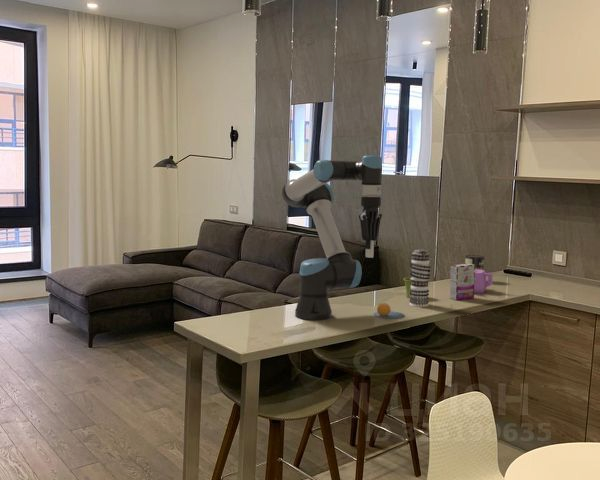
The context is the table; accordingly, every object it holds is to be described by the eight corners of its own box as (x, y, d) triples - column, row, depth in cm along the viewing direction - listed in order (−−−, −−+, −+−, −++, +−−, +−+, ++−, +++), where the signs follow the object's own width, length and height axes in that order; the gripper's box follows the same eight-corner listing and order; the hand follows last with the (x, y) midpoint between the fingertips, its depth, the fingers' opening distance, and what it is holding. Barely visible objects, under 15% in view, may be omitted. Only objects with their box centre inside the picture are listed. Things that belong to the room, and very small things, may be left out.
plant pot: (408, 299, 288) (408, 281, 287) (399, 295, 297) (400, 277, 296) (426, 298, 291) (426, 280, 290) (417, 294, 300) (417, 277, 299)
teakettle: (494, 293, 308) (496, 268, 306) (465, 294, 302) (466, 270, 301) (475, 287, 324) (476, 264, 322) (447, 288, 318) (448, 265, 317)
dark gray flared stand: (485, 280, 343) (486, 255, 342) (479, 283, 335) (481, 257, 333) (467, 278, 349) (468, 254, 347) (461, 281, 340) (462, 256, 339)
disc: (367, 315, 254) (367, 314, 254) (384, 310, 264) (384, 309, 264) (394, 320, 246) (394, 319, 246) (410, 314, 256) (410, 314, 256)
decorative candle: (406, 302, 281) (407, 248, 278) (425, 302, 281) (427, 248, 279) (411, 307, 272) (413, 251, 269) (431, 306, 272) (434, 251, 270)
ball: (374, 302, 253) (381, 305, 257) (374, 315, 251) (381, 318, 255) (386, 301, 250) (392, 304, 254) (386, 314, 248) (392, 317, 252)
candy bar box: (466, 296, 297) (468, 263, 295) (474, 298, 292) (475, 264, 291) (449, 298, 292) (450, 264, 290) (456, 300, 287) (457, 266, 285)
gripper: (369, 196, 227) (368, 259, 229) (388, 196, 237) (386, 256, 239) (353, 196, 232) (351, 257, 234) (372, 195, 242) (370, 254, 244)
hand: (369, 257), depth 237 cm, fingers closed
